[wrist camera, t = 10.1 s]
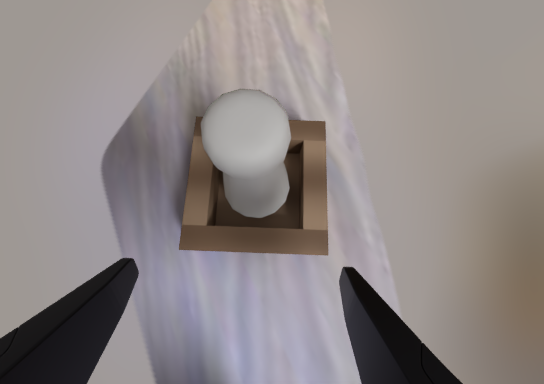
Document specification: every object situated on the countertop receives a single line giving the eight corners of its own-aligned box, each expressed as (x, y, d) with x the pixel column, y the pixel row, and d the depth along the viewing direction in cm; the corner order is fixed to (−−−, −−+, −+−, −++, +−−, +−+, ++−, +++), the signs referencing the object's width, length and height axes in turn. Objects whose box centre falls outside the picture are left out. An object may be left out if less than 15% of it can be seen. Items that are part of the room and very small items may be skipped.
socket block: (318, 254, 22) (328, 255, 18) (194, 249, 22) (178, 249, 18) (316, 141, 25) (325, 121, 21) (207, 136, 25) (196, 116, 21)
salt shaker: (217, 201, 22) (148, 139, 10) (248, 154, 23) (223, 45, 11) (268, 232, 22) (267, 210, 9) (297, 182, 23) (333, 100, 10)
